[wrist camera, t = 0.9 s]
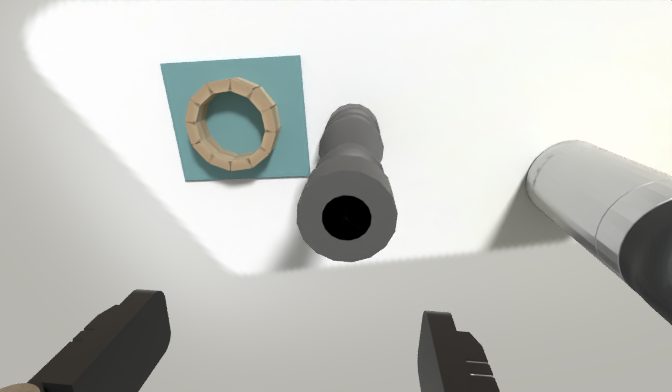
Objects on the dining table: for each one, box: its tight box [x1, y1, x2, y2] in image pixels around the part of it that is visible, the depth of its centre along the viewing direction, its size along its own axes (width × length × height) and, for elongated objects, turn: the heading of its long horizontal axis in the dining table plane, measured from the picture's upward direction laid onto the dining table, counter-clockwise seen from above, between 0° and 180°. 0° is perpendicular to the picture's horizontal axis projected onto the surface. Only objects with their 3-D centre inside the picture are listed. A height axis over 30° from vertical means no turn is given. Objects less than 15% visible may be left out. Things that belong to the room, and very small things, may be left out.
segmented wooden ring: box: [185, 77, 281, 171], centre depth 43 cm, size 10×10×3 cm
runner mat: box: [160, 55, 310, 180], centre depth 44 cm, size 16×14×1 cm
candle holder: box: [297, 104, 398, 262], centre depth 32 cm, size 6×6×25 cm
